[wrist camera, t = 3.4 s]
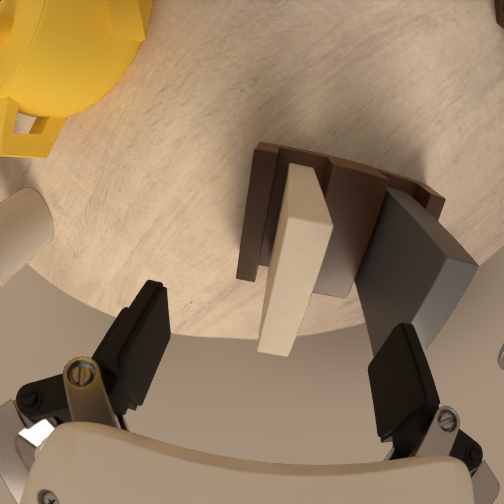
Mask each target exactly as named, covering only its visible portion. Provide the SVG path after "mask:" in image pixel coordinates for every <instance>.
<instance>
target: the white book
mask: <svg viewBox="0 0 504 504" xmlns="http://www.w3.org/2000/svg"><path fill="white" fill-rule="evenodd" d="M332 229H333V223H332V220H331V217H330V214H329V211H328V208H327V205H326V202H325V199H324V196H323V193H322V191H321V188H320V185H319V182H318V179H317V177H316V174H315V171H314V169H313V168H312V167H307V166H302V165H298V164H293V163H289V166H288V171H287V176H286V181H285V186H284V192H283V197H282V202H281V207H280V212H279V217H278V222H277V227H276V232H275V237H274V242H273V247H272V251H271V256H270V263H269V270H268V277H267V284H266V291H265V298H264V304H263V311H262V318H261V324H260V331H259V337H258V343H257V352H263V353H268V354H275V355H281V356H289V353H290V351H291V348H292V346H293V343H294V341H295V338H296V335H297V333H298V330H299V328H300V325H301V322H302V320H303V317H304V314H305V311H306V309H307V306H308V303H309V300H310V297H311V294H312V292H313V289H314V286H315V283H316V280H317V277H318V274H319V271H320V268H321V265H322V262H323V259H324V255H325V252H326V249H327V246H328V243H329V239H330V236H331V233H332Z"/></svg>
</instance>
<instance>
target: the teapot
mask: <svg viewBox="0 0 504 504" xmlns="http://www.w3.org/2000/svg"><path fill="white" fill-rule="evenodd" d="M152 6H153V2H152V0H3V1H2V2H1V3H0V156H5V157H26V158H47V157H48V155H49V153H50V151H51V149H52V147H53V144H54V142H55V140H56V138H57V137H58V135H59V133H60V131H61V129H62V127H63V125H64V123H65V122H66V120H67V118H68V116H71V115H74V114H77V113H80V112H82V111H84V110H86V109H87V108H89V107H90V106H92V105H94V104H95V103H96V102H98V101H99V100H100V99H101V98H103V97H104V96H105V95H106V94H107V93H108V92H109V91H110V90H111V89H112V88H113V87H114V86H115V85H116V84H117V83H118V81H119V80H120V79H121V78H122V76H123V75H124V74H125V72H126V71H127V70H128V68H129V66H130V65H131V63H132V62H133V60H134V58H135V56H136V54H137V52H138V50H139V49H140V46H141V44H142V41H145V40H146V35H147V30H148V25H149V20H150V15H151V10H152ZM17 113H21V114H25V115H28V116H32V117H37V118H36V120H35V122H34V124H33V126H32V128H31V130H30V132H29V134H13V133H14V127H15V122H16V118H17Z"/></svg>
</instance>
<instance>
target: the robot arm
mask: <svg viewBox="0 0 504 504" xmlns="http://www.w3.org/2000/svg"><path fill="white" fill-rule="evenodd" d="M170 334H171V331H170V321H169V310H168V298H167V288H166V287H163V284H162V283H161V282H157V281H153V280H147V281H146V283H145V284H144V286H143V287H142V289H141V290H140V292H139V293H138V295H137V296H136V298H135V299H134V301H133V302H132V304H131V305H130V307H129V308H128V307H125V308H123V309H122V310H121V312H120V313H119V315H118V316H117V318H116V319H115V321H114V322H113V324H112V325H111V327H110V329H109V330H108V332H107V333H106V335H105V337H104V338H103V340H102V341H101V343H100V345H99V346H98V348H97V349H96V351H95V353H94V354H93V356H92V358H89V357H84V356H81V357H76V358H73V359H72V360H70V361H69V362H68V363H67V364H66V366H65V367H64V370H63V374H60V375H56V376H53V377H50V378H46V379H43V380H39V381H36V382H32V383H29V384H26V385H24V386H22V388H20V390H19V391H18V393H17V396H16V400H14V401H13V400H12V399H11V400H9V401H7V402H6V403H4V404H3V405H1V406H0V476H1V478H2V480H3V482H4V483H5V485H6V487H7V488H8V490H9V492H10V494H11V495H12V497H13V498H14V500H15V501H16V503H17V504H492V503H493V502H494V500H495V499H496V498H497V496H498V494H499V490H500V485H499V482H498V480H497V479H496V477H495V476H494V474H493V473H492V471H491V469H490V468H489V466H488V465H487V463H486V462H485V460H483V461H482V457H483V453H482V448H481V446H480V445H479V444H478V443H477V442H476V441H474V440H473V439H472V438H471V437H469V436H468V435H467V434H465V433H464V432H463V431H461V430H460V429H459V426H460V419H459V416H458V414H457V412H456V411H455V410H454V409H453V408H451V407H449V406H442V407H440V408H439V406H438V405H439V404H440V400H439V396H438V393H437V390H436V386H435V383H434V380H433V377H432V374H431V371H430V368H429V365H428V362H427V360H426V357H425V354H424V351H423V348H422V346H421V343H420V340H419V338H418V335H417V333H416V330H415V328H414V326H413V324H409V323H399V324H398V325H397V326H395V327H394V328H393V330H392V331H391V333H390V334H389V336H388V338H387V339H386V341H385V342H384V344H383V345H382V347H381V348H380V349H379V351H378V352H377V354H376V355H375V357H374V358H373V360H372V361H371V363H370V364H369V366H368V375H369V380H370V385H371V392H372V398H373V404H374V411H375V418H376V426H377V434H378V436H379V437H380V438H381V443H384V442H393V447H392V448H391V450H390V451H389V453H388V455H387V456H386V457H385V459H384V461H380V462H370V463H359V464H341V465H299V464H298V465H297V464H281V463H268V462H260V461H251V460H244V459H237V458H230V457H225V456H220V455H214V454H209V453H204V452H200V451H195V450H192V449H188V448H184V447H180V446H176V445H172V444H168V443H165V442H161V441H158V440H155V439H151V438H148V437H145V436H142V435H139V434H136V433H132V432H130V430H129V428H128V425H127V423H126V420H125V418H124V415H125V414H126V411H127V409H128V408H129V409H132V410H136V408H137V406H138V405H139V406H141V405H142V404H143V401H144V399H145V397H146V394H147V392H148V389H149V387H150V385H151V382H152V380H153V377H154V375H155V372H156V370H157V368H158V365H159V363H160V361H161V358H162V356H163V353H164V351H165V349H166V347H167V344H168V342H169V340H170ZM47 436H48V437H47ZM46 437H47V438H46ZM44 438H46V440H45V441H44V443H43V445H42V447H41V449H40V450H39V452H38V454H37V456H36V458H34V452H35V449H36V447H37V446H38V445H40V444H41V443H42V442H43V441H42V440H43V439H44Z"/></svg>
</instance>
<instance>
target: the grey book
mask: <svg viewBox="0 0 504 504" xmlns="http://www.w3.org/2000/svg"><path fill="white" fill-rule="evenodd" d="M478 267H479V265H478V264H477V263H476V262H475V261H474V259H473V258H472V257H471V256H470V255H469V254H468V253H467V251H466V250H465V249H464V248H463V247H462V246H461V245H460V244H459V243H458V242H457V240H456V239H455V238H454V237H453V236H452V235H451V234H450V233H449V232H448V231H447V230H446V229H445V228H444V227H443V226H442V225H441V224H440V223H439V222H438V221H437V220H436V219H435V218H434V217H433V216H432V215H431V214H430V213H429V212H428V211H427V210H426V209H425V208H423V207H422V206H421V205H420V204H419V203H418V202H417V201H416V200H415V199H414V198H412V197H411V196H410V195H409V194H408V193H406V192H403V191H399V190H396V189H393V188H390V187H387V190H386V193H385V196H384V199H383V202H382V206H381V209H380V212H379V215H378V218H377V221H376V224H375V226H374V229H373V232H372V235H371V238H370V241H369V243H368V246H367V249H366V251H365V254H364V256H363V259H362V262H361V264H360V267H359V269H358V272H357V274H356V277H355V279H354V281H355V284H356V287H357V291H358V295H359V298H360V302H361V306H362V309H363V313H364V317H365V321H366V325H367V329H368V333H369V337H370V342H371V346H372V351H373V355H374V357H375V355H376V354H377V352H378V351H379V349H380V348H381V347H382V345H383V344H384V342H385V341H386V339H387V338H388V336H389V334H390V333H391V331H392V330H393V328H394V327H395V326H397V325H398V324H399V323H409V324H413V326H414V328H415V330H416V333H417V335H418V338H419V340H420V343H421V346H422V348H423V351H424V352H425V350H426V349H427V348H428V346H429V345H430V344H431V342H432V341H433V340H434V338H435V337H436V335H437V334H438V333H439V331H440V330H441V329H442V327H443V325H444V324H445V323H446V321H447V320H448V318H449V317H450V315H451V314H452V312H453V311H454V309H455V307H456V306H457V304H458V303H459V301H460V299H461V298H462V296H463V294H464V293H465V291H466V289H467V287H468V286H469V284H470V282H471V280H472V278H473V277H474V275H475V273H476V271H477V269H478Z"/></svg>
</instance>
